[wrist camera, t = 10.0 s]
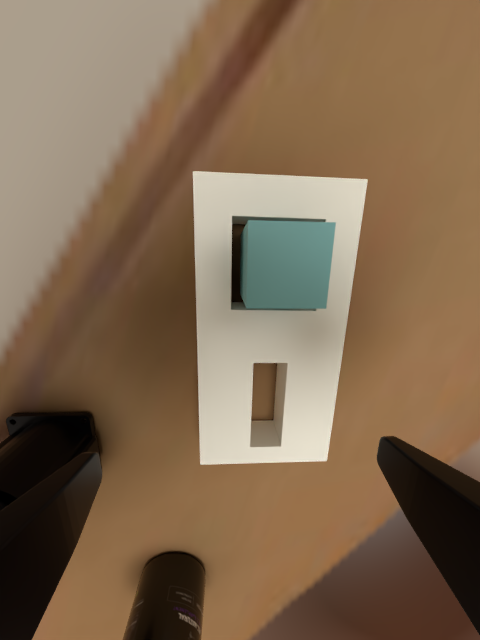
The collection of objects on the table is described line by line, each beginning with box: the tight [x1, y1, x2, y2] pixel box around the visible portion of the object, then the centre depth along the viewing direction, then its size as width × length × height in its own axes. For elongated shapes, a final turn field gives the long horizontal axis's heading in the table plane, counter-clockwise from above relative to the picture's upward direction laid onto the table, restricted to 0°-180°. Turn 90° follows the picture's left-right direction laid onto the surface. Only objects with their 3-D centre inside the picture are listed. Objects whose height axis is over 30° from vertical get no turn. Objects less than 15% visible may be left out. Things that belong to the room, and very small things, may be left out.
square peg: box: [240, 220, 336, 309], centre depth 14 cm, size 4×4×6 cm
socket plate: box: [193, 171, 368, 465], centre depth 17 cm, size 10×20×3 cm, turn 179°
